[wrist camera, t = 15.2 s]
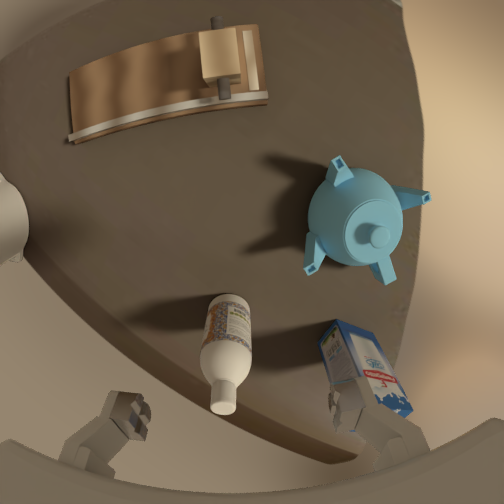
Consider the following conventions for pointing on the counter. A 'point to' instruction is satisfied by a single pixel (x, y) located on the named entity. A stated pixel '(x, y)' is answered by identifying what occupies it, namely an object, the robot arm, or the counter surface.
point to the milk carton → (362, 364)
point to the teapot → (357, 219)
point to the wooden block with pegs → (220, 57)
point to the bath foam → (226, 350)
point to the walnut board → (159, 84)
